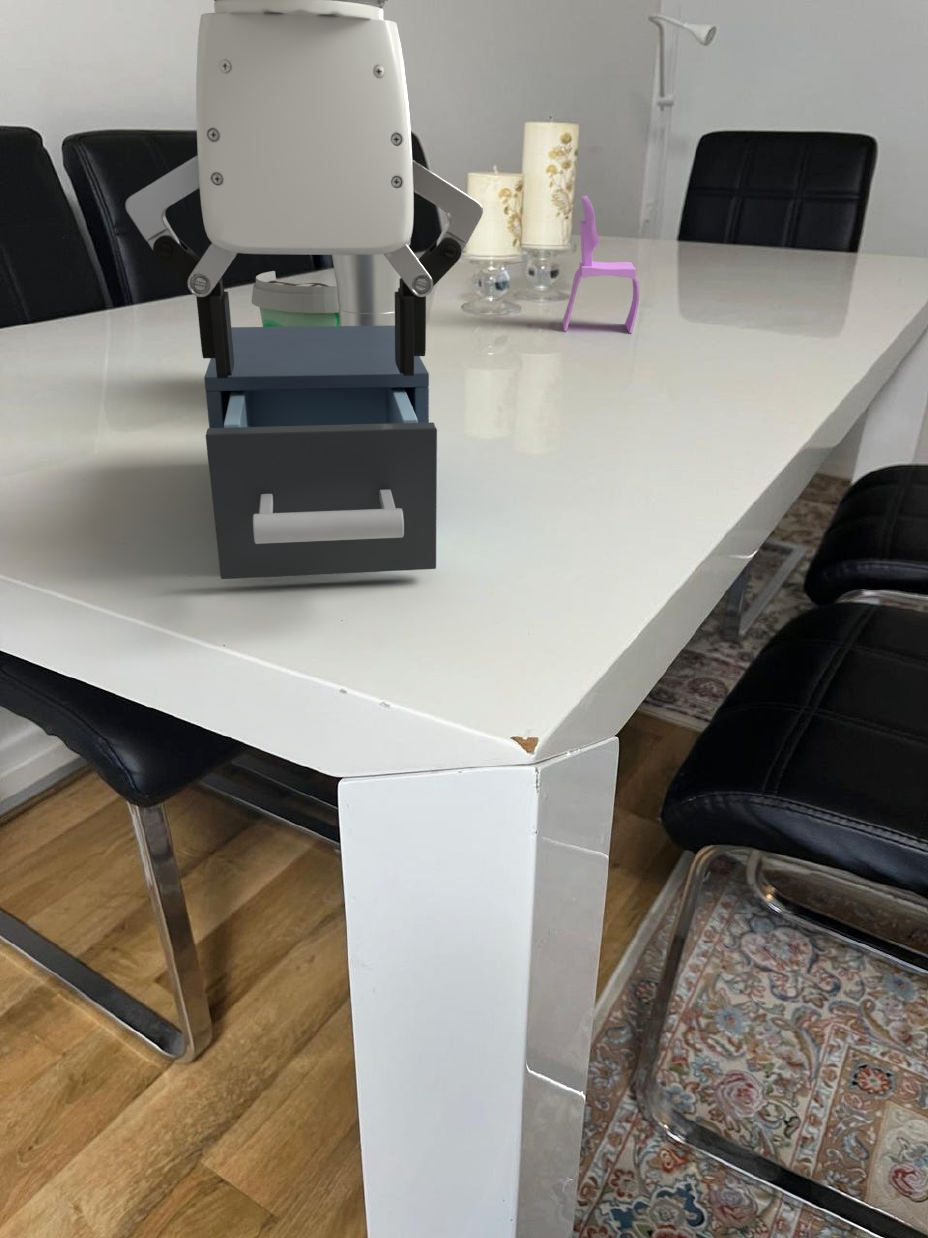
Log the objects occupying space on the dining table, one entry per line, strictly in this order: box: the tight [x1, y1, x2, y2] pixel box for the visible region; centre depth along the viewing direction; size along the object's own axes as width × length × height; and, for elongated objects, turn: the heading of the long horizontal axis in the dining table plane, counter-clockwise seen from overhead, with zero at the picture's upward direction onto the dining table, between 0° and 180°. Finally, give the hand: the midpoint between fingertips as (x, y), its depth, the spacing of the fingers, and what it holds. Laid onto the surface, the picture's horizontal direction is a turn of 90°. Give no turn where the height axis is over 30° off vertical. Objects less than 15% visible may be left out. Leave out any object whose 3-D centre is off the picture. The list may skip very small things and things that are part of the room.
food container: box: [251, 270, 339, 327], centre depth 85 cm, size 12×6×10 cm, turn 55°
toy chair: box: [562, 195, 640, 334], centre depth 116 cm, size 8×9×15 cm
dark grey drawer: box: [205, 387, 438, 580], centre depth 53 cm, size 18×11×8 cm, turn 9°
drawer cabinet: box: [203, 326, 430, 428], centre depth 63 cm, size 15×13×10 cm
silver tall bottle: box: [331, 239, 411, 326], centre depth 77 cm, size 6×7×20 cm
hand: (316, 370), depth 51 cm, fingers open, 9 cm apart
